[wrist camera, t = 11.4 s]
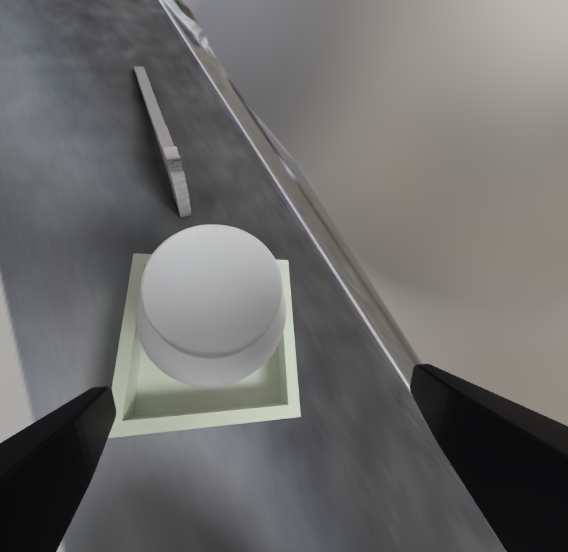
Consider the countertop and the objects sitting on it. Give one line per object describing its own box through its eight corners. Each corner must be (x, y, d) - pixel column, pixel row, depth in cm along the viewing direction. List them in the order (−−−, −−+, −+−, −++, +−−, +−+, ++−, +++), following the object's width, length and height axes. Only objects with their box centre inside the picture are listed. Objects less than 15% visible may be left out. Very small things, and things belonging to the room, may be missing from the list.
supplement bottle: (188, 288, 21) (156, 175, 10) (266, 309, 22) (322, 229, 11) (154, 374, 18) (55, 359, 7) (245, 394, 19) (291, 410, 8)
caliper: (192, 219, 25) (186, 170, 19) (181, 221, 24) (171, 172, 19) (144, 72, 30) (128, 1, 24) (134, 72, 30) (115, 0, 24)
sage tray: (289, 412, 20) (300, 416, 17) (120, 430, 17) (103, 438, 15) (279, 273, 24) (288, 260, 22) (143, 269, 22) (133, 253, 19)
